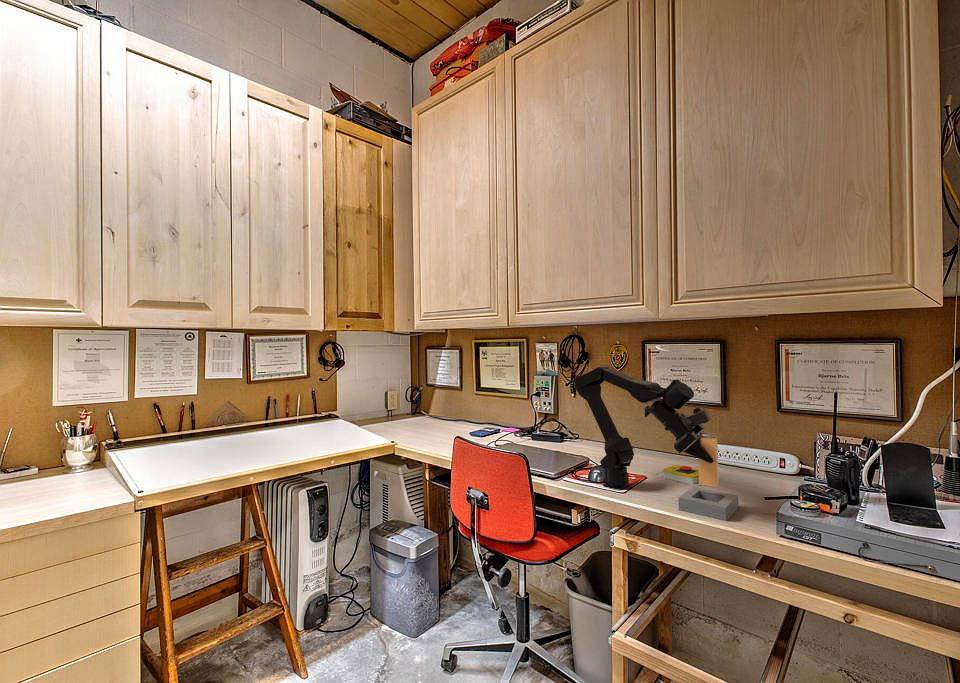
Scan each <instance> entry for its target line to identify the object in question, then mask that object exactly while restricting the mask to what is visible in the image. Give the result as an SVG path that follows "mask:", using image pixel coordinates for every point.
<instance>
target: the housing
mask: <svg viewBox="0 0 960 683" xmlns="http://www.w3.org/2000/svg"><path fill="white" fill-rule="evenodd" d="M677 498H678V499H677V501H678V511H681V512H685V513H690V514H694V515H697V516H698V515H699V516H702V515H703V517H706V516H707V517H708V518H711V517H712V518H711V519H715V518H716V520H719V521H724V522H726V521H727V520H728V519H729V518H730V517H732V515H733V514H734V513H735V512H736V511H737V510H738V509H739V495H738V494H733V493H728V492H723V491H718V490H713V489H712V490H711V489H707V488H702V487H699V486H692V487H691V488H689V489H688V490H686V491H685V492H684V493H683V494H681V495H679V496H678V497H677Z"/></svg>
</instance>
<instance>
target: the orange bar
mask: <svg viewBox="0 0 960 683" xmlns="http://www.w3.org/2000/svg"><path fill="white" fill-rule="evenodd" d="M699 434H700V435H699V437H700V436H701V445H702V446H703V447H704V448H705V450H706V451H707V452H708V453H709V455H710V456H711V457H712V459H713V460H714V462H713V463H709V462H706V461H704V460H702V459H700V458H697V459H698V460H697V462H698V463H697V464H698V466H697V467H698V470H699V484H700V486H708V487H716V488H717V487H718V485H719V482H720V481H719V480H720V479H719V477H720V476H719V455H718V454H719V451H718V450H719V448H718V446H719V445H718V436H717V435H716V433H715V432H709V431H704V432H703V431H700V432H699ZM699 437H698V438H699Z"/></svg>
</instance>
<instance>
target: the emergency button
mask: <svg viewBox="0 0 960 683" xmlns="http://www.w3.org/2000/svg"><path fill="white" fill-rule="evenodd" d="M656 476H657V477H658V478H659V477H660V478H663V479H666V478H667V480H670V479H671V481H675V482H678V481H679V483H682V482H683V484H687V485H692V486H694V487H700V486H701V485H700V484H699V468H698V469H697V468H693V467H691V466H689V465H678V464H674V465H672V466H668V467H665V468H662V473H659V474H656Z"/></svg>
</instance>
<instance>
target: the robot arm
mask: <svg viewBox="0 0 960 683" xmlns="http://www.w3.org/2000/svg"><path fill="white" fill-rule="evenodd" d="M574 379H575V380H574V382H573V386H574V389H575V390H576V392H577V393H578V395H579V396H580V397H581V398H582V399H583V400H585V401H586V402H587V404H588V406H589V408H590V411H591V413H592V415H593V417H594V419H595V421H596V423H597V426H598V428H599V430H600V433H601V435H602V437H603V438H604V453H605V456H604V457H602V458H601V460H599V463H600V466H601V468H602V469H604V478H605V479H604V482H605V483H602V486H603V487H606V488H610V489H611V488H612V489H615V490H623V489H625V488H628V486H629V487H630V485H631V484H630V483H629V480H630V479H629V472H628V467H630V466H631V464H632V461H633V459H634V456H635V452H634V449H635V448H634V446H633V445H632V444H631V441H630V439H629V437H627V436H626V437H623V436H622V435H620V433H619V431H618V430H617V428H616V425H615V423H614V420H613V419H612V417H611V415H610V412H609V411H608V409H607V406H606V404H605V402H604V400H603V398H602V396H601V394H602V387H601V385H602V384H603V383H605V382H607V383H609V384H611V385H613V386H615V387H617V388H619V389H622V390H623V391H626V392H627V393H628V394H630V396H631V397H632V398H634V399H635V400H637V401H638V402H639V403H641V404H646V403H647V404H648V403H652V404H651V405H646V406H645V407H644V408H643V409H644V417H645V418H647V417H648V416H651V415H652V416H653V417H654V418H655V419H656V420H657V421H658V422H659V423H660V424H661V425H662V426H663V427H664V430H665V431H666V432H667V431H668V432H670V433H671V434H672V435H673V436H674V437H675V442H674V443H673V448H674V449H675V451H676V452H677V453H678V454H682V452H683V453H684V454H688V455H689V456H690V455H691V456H692V457H695V458H697V459H698V458H700V459H702V460H704V461H706V462H709V463H713V462H714V460H713V459H712V457H711V456H710V455H709V453H708V452H707V451H706V450H705V448H704V447H703V446H702V445H701V436H700V437H699V435H700V434H699V433H700V432H705V431H704V429H705V426H703V425H702V424H707V423H708V422H710V421H711V418H710V416H709V414H708V413H709V412H708V411H707V410H706V409H705V408H703V409H702V408H701V407H697V408H696V407H695V408H693V410H692V411H693V412H692V413H691V414H689V415H686V414H685V413H682V412H681V413H680V412H679V411H678V410H681V409H682V408H684V406H685V405H686V404H687V403H688V402H689V401H691V400H692V399H693V398H694V396H695V393H694V390H693V389H692V388H691V387H690V386H688V385H687V384H686V383H685V382H682V381H681V380H680V379H678V378H677V379H673V380H671V382H670V384H669V385H668V386H667V387H661V384H659V383H657V382H654V381H649V380H642V379H641V380H639V379H636V378H633V377H631V376H629V375H626V374H624V373H623V372H619V371H617V370H615V369H612V368H610V367H609V366H598V367H595V368H594V369H593V370H591V371H588V372H587V373H584V374H580V375H578V376H576V377H575V378H574ZM661 398H662V399H661ZM660 399H661V400H660ZM698 437H699V438H698Z"/></svg>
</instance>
